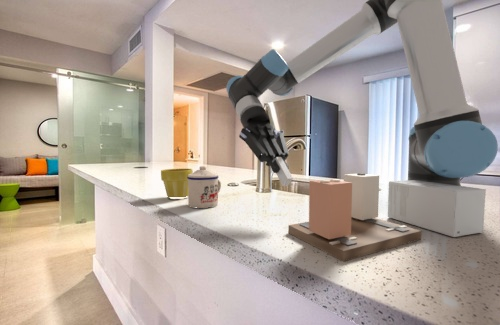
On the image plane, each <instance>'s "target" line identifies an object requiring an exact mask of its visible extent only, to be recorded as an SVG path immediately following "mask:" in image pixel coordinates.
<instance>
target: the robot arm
mask: <svg viewBox="0 0 500 325" xmlns="http://www.w3.org/2000/svg"><path fill="white" fill-rule="evenodd" d="M395 24H397V25H398V29H399V33H400V35H399V36H400V38H401V42H402V46H403V51H404V55H405V56H404V57H405V59H406V63H407V68H408V71H409V77H410V80H411V84H412V89H413V93H414V97H415V102H416V106H417V107H416V108H417V110H418V118H417V119H416V120H415V122H414V124H413V127H411V129H410V130H409V136H408V143H409V144H408V165H407V166H408V167H407V168H408V170H407V171H408V172H407V180H418V181H426V182H434V183H441V184H449V185H457V186H462V185H461V179H462V178H469V177H473V176H476V175H478V174H480V173H482V172H484V171H485V170H486V169H488V168H489V167H490V166H491V164H492V163H493V162H494V161H495V159H496V157H497V154H498V150H499V144H498V140H497V137H496V135H495V134H494V132H493V131H492V130H491V129H490V128H488V127H487V126H485V125H484V124H483V122H482V118H481V115H480V111H479V108H477V107H476V106H473V105H470V104H469V103H467V102H468V101H467V98H466V95H465V91H464V87H463V82H462V77H461V74H460V69H459V66H458V61H457V57H456V52H455V48H454V45H453V40H452V36H451V32H450V29H449V28H450V27H449V24H448V20H447V16H446V12H445V7H444V3H443V0H367V1H366V2H364V3H363V4H362V7H361V9H360V10H359V11H358V12H357V13H355V14H354V15H353V16H351V17H350V18H348V19H347V20H346V21H344V22H342V23H341V24H340V25H338V26H336V28H334V29H333V30H332V31H330V32H328V33H327V34H326V35H324V36H323V37H321V38H320V39H318V40H317V41H316V42H315V43H313V44H312V45H311V46H309V47H308V48H306V49H305V50H303V51H302V52H300V53H299V54H297V55H296V56H295V57H294V58H292V59H291V60H289V61H288V62H287V61H285V59H284V58H283V57H282V56H281V55H280V53H279V52H278V51H277V50H276V49H270V50H269V51H268V52H266V53H265V55H263V56H262V57H261V58H260V59H259V60H258V61H257V62H256V63H255V64H253V66H252V67H251V68H250V70H249V71H247V72H246V73H245V74H244V75H235V76H234V77H233V76H232V77H231V78H230V79H228V81H227V83H226V93H227V96H228V99H229V101H230V102H231V104H232V106H233V108H234V110H235V112H236V114H237V117H238V118H239V121H240V123H241V125H242V128H241V131H240V133H239V135H238V137H239V139H241V140H242V141H243V142H245V144H246V146H247V147H249V149H250V150H251V151H252V153H253V154H254V155H255V157H256V159H258V160H259V162H261V163H264V162H265V163H266V164H265V166H267V167H270V168H271V170H272V172H273V173H274V174H276V177H277V178H278V180H279V182H280V183H281V186H282V187H286V186H287V187H288V186H290V183H291V182H292V180H293V179H294V177H293V176H292V173H291V172H290V167H289V165H288V162H286V160H287V159H288V157H289V156H290V152H289V149H288V146H287V143H286V139H285V136H284V135H285V130H284V129H280V130H277V129H275V126H274V125H272V124H271V119H270V116H269V114H268V113H267V111H266V109H265V107H264V106H263V104H262V103H261V101H260V99H259V98H260V97H261V96H262V95H263V94H264V93H265V92H267V90H269V91H271V93H272V94H274V95H276V96H280V97H285V96H288V95H289V94H291V93H292V91H293V89H294V87H295V86H297V85H298V84H299V83H301V82H303V81H304V80H306V79H307V78H308V77H310V76H312V75H313V74H314V73H316V72H318V71H319V70H321V69H322V68H324V67H326V66H327V65H328V64H330V63H331V62H333V61H335V60H336V59H338V58H339V57H341V56H342V55H344V54H345V53H346V52H348V51H349V50H351V49H352V48H354V47H356V46H357V45H359V44H360V43H362V42H364V41H365V40H366V39H369V37H371V36H373V35H377V36H378V35H380V34H382V33H383V32H385V31H387V30H388V29H389V28H391V27H393V26H394V25H395Z"/></svg>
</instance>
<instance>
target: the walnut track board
mask: <svg viewBox="0 0 500 325" xmlns="http://www.w3.org/2000/svg"><path fill="white" fill-rule="evenodd" d="M287 228H288V229H287V230H288V231H287V232H288V234H290V235H292V236H294V237H296V238H298V239H300V240H301V241H303V242H305V243H307V244H309V245H311V246H313V247H315V248H317V249H319V250H321V251H323V252H325V253H327V254H328V255H330V256H333V257H334V258H336V259H338V260H340V261H342V262H347V261H349V260H353V259H357V258H360V257H363V256H367V255H370V254H374V253H378V252H380V251H384V250H389V249H391V248H394V247H398V246H403V245H405V244H409V243H413V242H417V241H419V240H421V239H422V230H420V229H416V228H412V227H409V226H407V225H404V224H403V225H402V224H398V223H394V222H393V221H391V222H390V221H388V220H384V219H380V218H378V217H376V218H371V219H366V220H360V219H356V218H353V217H351V235H347V236H343V237H338V238H334V239H327V238H325V237H322V236H320V235H318V234H316V233H313V232H311V231H309V221H304V222H300V223H292V224H288V227H287Z"/></svg>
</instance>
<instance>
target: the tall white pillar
mask: <svg viewBox="0 0 500 325" xmlns="http://www.w3.org/2000/svg"><path fill="white" fill-rule="evenodd" d="M343 181H345V182H351V183H352V213H351V217H353V218H356V219H360V220H366V219H371V218H379V200H380V199H379V196H380V175H378V174H368V173H367V174H366V173H362V172H360V173H347V174H343Z"/></svg>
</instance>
